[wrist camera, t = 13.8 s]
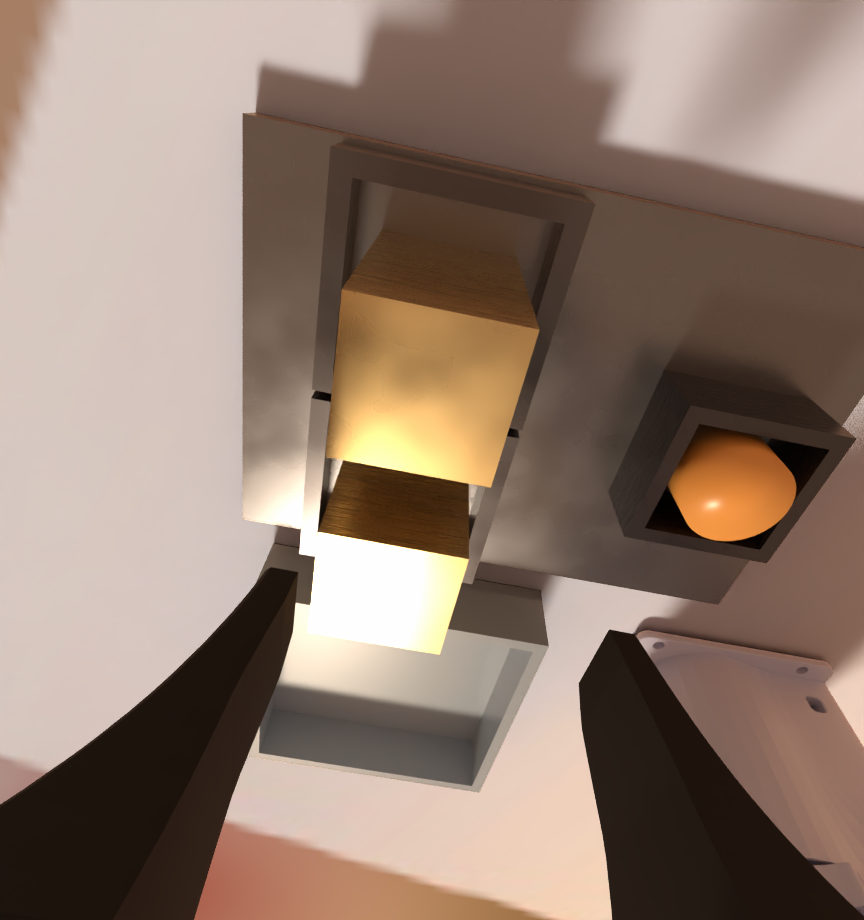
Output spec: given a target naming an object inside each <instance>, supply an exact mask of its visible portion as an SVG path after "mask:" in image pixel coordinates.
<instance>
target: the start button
mask: <svg viewBox="0 0 864 920" xmlns="http://www.w3.org/2000/svg"><path fill="white" fill-rule="evenodd" d="M667 486H668V488H669V490H670V492H671V494H672V496H673V498H674V500H675V501H676V503H677V505H678V507H679V509H680V511H681V513H682V515H683V517H684V519H685V521H686V523H687V524H688V526H689V527H690V528H691V529H692V530H693V531H694V532H696V533H697V534H699V535H700V536H702V537H705V538H708V539H711V540H717V541H735V540H742V539H746V538H749V537H752V536H755V535H757V534H760V533H762V532H764V531H766V530H767V529H769V528H771V527H772V526H773V525H775V524H776V523H777V522H778V521H780V520H781V519H782V518H783V517H784V516H785V514H786V513H787V512H788V511H789V509H790V507H791V506H792V504H793V501H794V499H795V495H796V482H795V479H794V476H793V475H792V473H791V472H790V470H789V469H788V468H787V467H786V466H785V464H784V463H783V462H782V461H781V460H780V459H779V458H778V456H777V455H776V454H775V453H774V452H773V451H772V450H771V448H770V447H769V446H768V445H767V444H766V443H765V442H764V440H763V439H762V438H761V437H760V436H758V435H753V434H748V433H743V432H738V431H733V430H728V429H723V428H718V427H713V426H708V425H703V424H699V426H698V428H697V430H696V431H695V433H694V435H693V437H692V439H691V441H690V443H689V445H688V447H687V449H686V450H685V452H684V454H683V456H682V458H681V460H680V462H679V464H678V466H677V468H676V469H675V471H674V473H673V475H672V477H671V479H670V481H669V483H668V485H667Z"/></svg>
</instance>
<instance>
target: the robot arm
mask: <svg viewBox="0 0 864 920" xmlns="http://www.w3.org/2000/svg"><path fill="white" fill-rule="evenodd" d="M297 582H298V572H296V571H290V570H285V569H279V568H274V567H270V568H268V569H267V570H266V571H265V572H264V573H263V575H262V576H261V577H260V579H259V580H258V581H257V583H256V584H255V585H254V587H253V588H252V589H251V590H250V592H249V593H248V594H247V595H246V597H245V598H244V599H243V600H242V601H241V603H240V604H239V605H238V606H237V607H236V608H235V610H234V611H233V612H232V613H231V614H230V615H229V616H228V617H227V619H226V620H225V621H224V622H223V623H222V624H221V625H220V626H219V627H218V628H217V629H216V630H215V632H214V633H213V634H212V635H211V636H210V637H209V638H208V639H207V640H206V641H205V642H204V643H203V644H202V645H201V646H200V647H199V648H198V649H197V650H196V651H195V652H194V653H193V654H192V655H191V656H190V657H189V658H188V659H187V660H186V661H185V662H184V663H183V664H182V665H181V666H180V667H179V668H178V669H177V670H176V671H175V672H174V673H173V674H171V675H170V676H169V677H168V678H167V679H166V680H165V681H164V682H163V683H162V684H160V685H159V686H158V687H157V688H156V689H155V690H154V691H153V692H151V693H150V694H149V695H148V696H147V697H146V698H144V699H143V700H142V701H141V702H140V703H139V704H137V705H136V706H135V707H134V708H133V709H132V710H130V711H129V712H128V713H127V714H125V715H124V716H123V717H122V718H120V719H119V720H118V721H117V722H115V723H114V724H113V725H112V726H110V727H109V728H108V729H106V730H105V731H104V732H103V733H101V734H100V735H99V736H98V737H96V738H95V739H94V740H92V741H91V742H90V743H88V744H87V745H86V746H84V747H83V748H82V749H80V750H79V751H78V752H76V753H75V754H74V755H72V756H71V757H69V758H68V759H66V760H65V761H64V762H62V763H61V764H59V765H58V766H56V767H55V768H53V769H52V770H51V771H49V772H48V773H46V774H45V775H44V776H42V777H41V778H39V779H38V780H36V781H35V782H33V783H32V784H30V785H29V786H28V787H26V788H25V789H23V790H22V791H20V792H19V793H17V794H16V795H14V796H13V797H11V798H10V799H8V800H7V801H5V802H3V803H2V804H0V920H194V918H195V914H196V911H197V907H198V904H199V901H200V897H201V894H202V891H203V887H204V884H205V881H206V878H207V874H208V871H209V868H210V864H211V861H212V858H213V855H214V851H215V848H216V845H217V842H218V838H219V835H220V832H221V829H222V826H223V823H224V820H225V817H226V813H227V810H228V807H229V804H230V801H231V798H232V795H233V792H234V789H235V787H236V784H237V781H238V778H239V776H240V773H241V771H242V768H243V766H244V763H245V761H246V758H247V756H248V754H249V751H250V749H251V746H252V744H253V741H254V739H255V737H256V734H257V732H258V729H259V727H260V724H261V722H262V719H263V717H264V715H265V712H266V710H267V707H268V705H269V702H270V700H271V697H272V695H273V692H274V690H275V688H276V685H277V683H278V680H279V678H280V675H281V671H282V668H283V665H284V661H285V658H286V655H287V651H288V648H289V644H290V641H291V637H292V634H293V626H294V615H295V604H296V593H297ZM832 674H833V669H832V667H831V666H830V664H829V663H828V662H826V661H821V660H816V659H810V658H804V657H799V656H793V655H787V654H781V653H776V652H770V651H764V650H759V649H753V648H747V647H742V646H736V645H730V644H724V643H719V642H713V641H707V640H702V639H696V638H690V637H685V636H679V635H673V634H667V633H662V632H656V631H650V630H645V631H641V632H639V633H638V634H637V635H636V636H635V634H630V633H625V632H619V631H614V630H609V631H608V633H607V634H606V636H605V638H604V640H603V642H602V643H601V645H600V647H599V649H598V650H597V652H596V654H595V656H594V658H593V659H592V661H591V663H590V665H589V666H588V668H587V670H586V672H585V673H584V675H583V677H582V679H581V681H580V682H579V694H580V710H581V722H582V731H583V737H584V742H585V747H586V753H587V758H588V763H589V768H590V773H591V779H592V784H593V789H594V794H595V799H596V804H597V809H598V814H599V819H600V824H601V829H602V834H603V841H604V847H605V853H606V861H607V870H608V880H609V889H610V899H611V909H612V920H864V747H863V745H862V744H861V742H860V740H859V739H858V737H857V735H856V734H855V732H854V731H853V729H852V727H851V726H850V724H849V722H848V721H847V719H846V718H845V716H844V714H843V713H842V711H841V709H840V708H839V706H838V704H837V703H836V701H835V700H834V698H833V696H832V695H831V693H830V691H829V690H828V688H827V687H826V685H825V682H826V681H827V680H828V679H829V677H830V676H831V675H832Z"/></svg>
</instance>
